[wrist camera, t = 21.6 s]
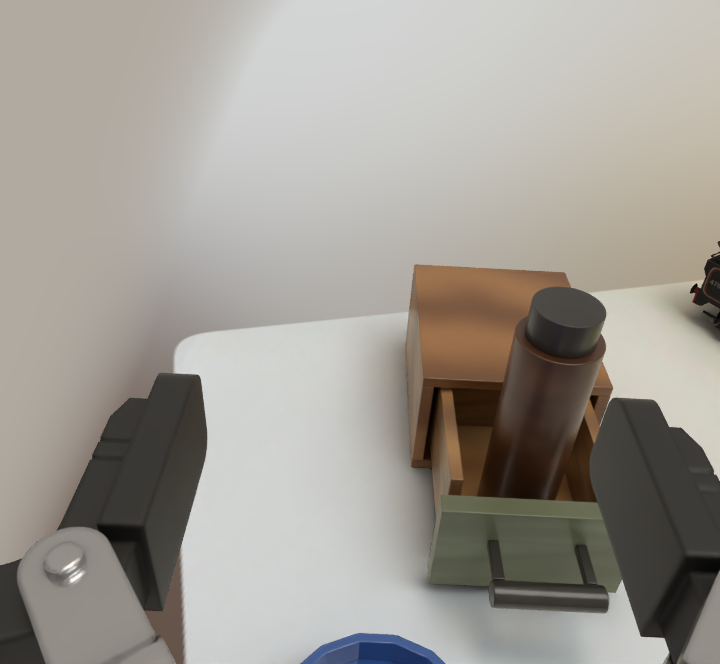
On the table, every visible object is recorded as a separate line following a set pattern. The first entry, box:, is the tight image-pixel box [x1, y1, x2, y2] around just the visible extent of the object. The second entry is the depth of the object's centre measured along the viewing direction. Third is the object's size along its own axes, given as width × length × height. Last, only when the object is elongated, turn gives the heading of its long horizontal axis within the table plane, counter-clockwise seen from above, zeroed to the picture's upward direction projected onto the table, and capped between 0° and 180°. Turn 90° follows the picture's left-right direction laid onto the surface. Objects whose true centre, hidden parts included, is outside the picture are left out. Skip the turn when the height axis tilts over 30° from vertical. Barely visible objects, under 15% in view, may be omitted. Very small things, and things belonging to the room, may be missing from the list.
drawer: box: [428, 387, 622, 613], centre depth 43 cm, size 17×11×7 cm, turn 179°
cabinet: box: [405, 265, 613, 468], centre depth 53 cm, size 15×13×9 cm
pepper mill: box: [477, 286, 606, 500], centre depth 40 cm, size 5×5×16 cm
